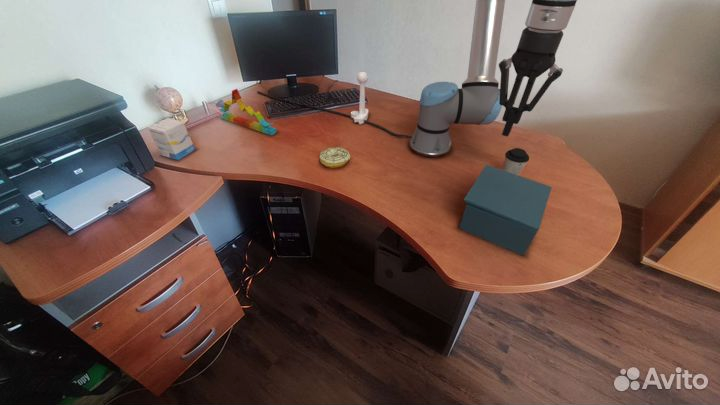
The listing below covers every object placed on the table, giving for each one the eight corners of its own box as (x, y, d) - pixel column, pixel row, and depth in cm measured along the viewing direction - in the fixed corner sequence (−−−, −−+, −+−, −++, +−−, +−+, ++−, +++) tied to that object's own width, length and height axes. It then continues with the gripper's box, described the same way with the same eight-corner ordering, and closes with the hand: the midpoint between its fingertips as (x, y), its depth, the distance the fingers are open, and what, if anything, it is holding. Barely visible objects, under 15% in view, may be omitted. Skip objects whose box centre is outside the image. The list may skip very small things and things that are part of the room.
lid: (463, 201, 75) (464, 198, 74) (485, 166, 86) (486, 164, 86) (537, 231, 67) (538, 229, 67) (550, 189, 79) (552, 187, 78)
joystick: (363, 124, 128) (363, 76, 114) (347, 122, 129) (345, 75, 116) (370, 113, 136) (371, 68, 122) (354, 111, 137) (353, 66, 124)
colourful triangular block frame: (277, 132, 123) (269, 96, 113) (271, 135, 121) (263, 99, 111) (228, 116, 135) (217, 82, 125) (222, 118, 133) (211, 85, 123)
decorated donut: (356, 160, 106) (355, 151, 104) (334, 173, 100) (333, 164, 98) (335, 150, 111) (335, 141, 109) (314, 162, 106) (313, 153, 103)
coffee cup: (517, 187, 94) (529, 160, 87) (494, 180, 97) (504, 154, 90) (521, 176, 98) (532, 150, 92) (499, 170, 101) (509, 144, 94)
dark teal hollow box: (459, 228, 80) (466, 204, 75) (480, 193, 92) (488, 169, 86) (523, 255, 73) (537, 231, 68) (537, 213, 85) (550, 189, 79)
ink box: (196, 149, 113) (184, 121, 105) (177, 160, 107) (163, 131, 99) (180, 145, 116) (167, 116, 108) (161, 155, 110) (146, 126, 102)
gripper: (505, 28, 60) (476, 132, 76) (578, 37, 54) (530, 147, 70) (514, 21, 64) (484, 121, 80) (582, 29, 59) (536, 134, 75)
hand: (506, 133), depth 75 cm, fingers closed
